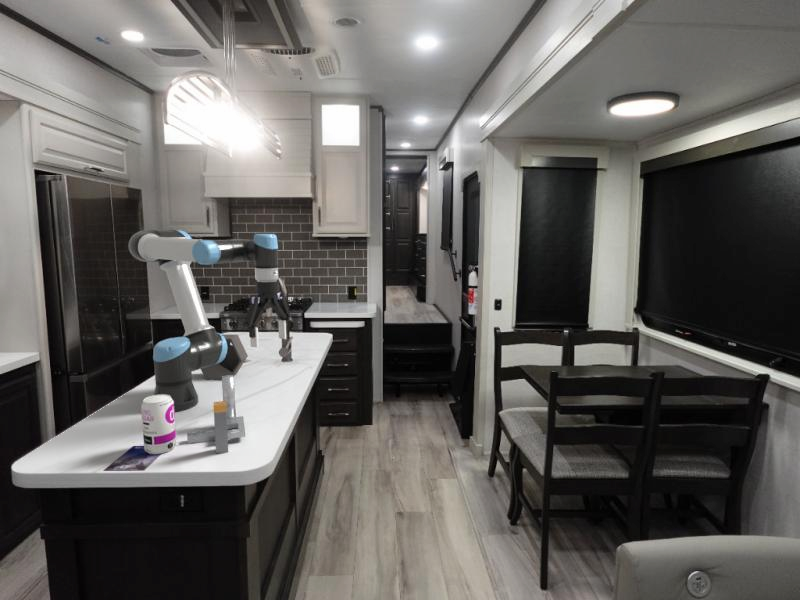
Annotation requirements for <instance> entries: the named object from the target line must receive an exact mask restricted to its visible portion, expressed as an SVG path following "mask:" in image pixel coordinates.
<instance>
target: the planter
mask: <svg viewBox="0 0 800 600" xmlns="http://www.w3.org/2000/svg"><path fill="white" fill-rule="evenodd" d="M221 334H222V333H221ZM222 336H224V337H225V339H226V342H227V354H226V356H225V358H224V360H223V361H222V362H220V363H218V364H215V365H213V366H209V367H206V368H202V369H200V371H201V373H202V374H203V378H205V379H206V380H222V377H223V376H226V375H233V376H234V377H235V376H236V375H237V374H238V372H239V370H241V368H242V366H243V365H244V362H245V361H246V360H247V358H248V354H247V351H246V348H245V347H244V345H243V342H242V341H241V339H240V337H239V335H238V334H224V333H223V334H222Z"/></svg>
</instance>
